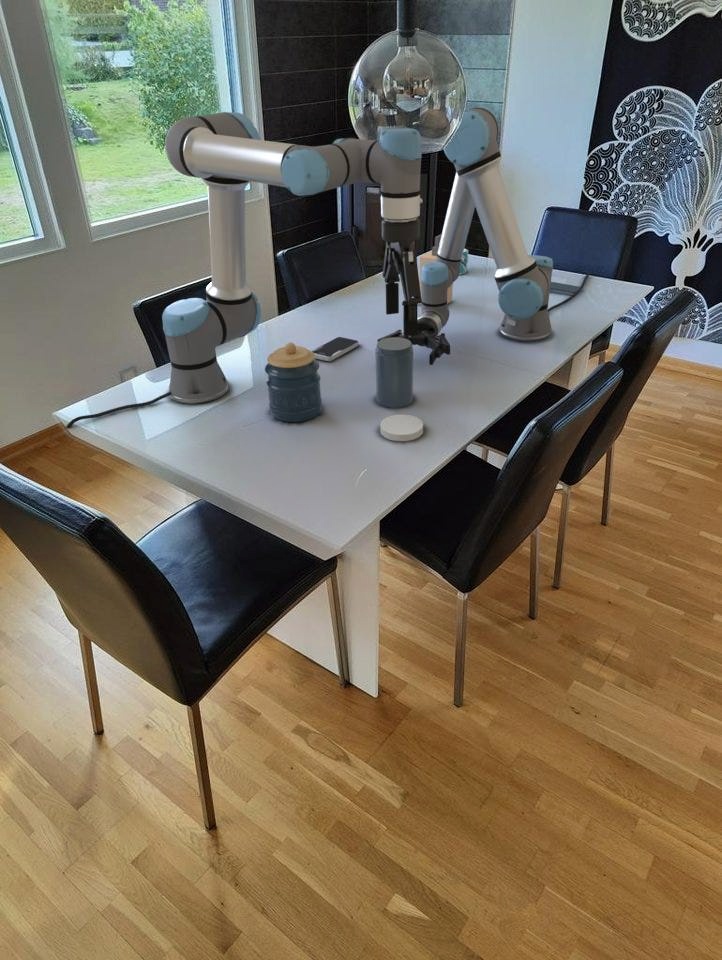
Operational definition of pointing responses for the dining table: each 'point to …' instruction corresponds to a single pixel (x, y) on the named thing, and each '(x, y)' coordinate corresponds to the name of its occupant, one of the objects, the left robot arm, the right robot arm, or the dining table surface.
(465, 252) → the mug
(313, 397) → the canister
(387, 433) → the lid
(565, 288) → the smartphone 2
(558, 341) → the dining table surface
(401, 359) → the jar
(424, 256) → the soap dispenser
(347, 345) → the smartphone
